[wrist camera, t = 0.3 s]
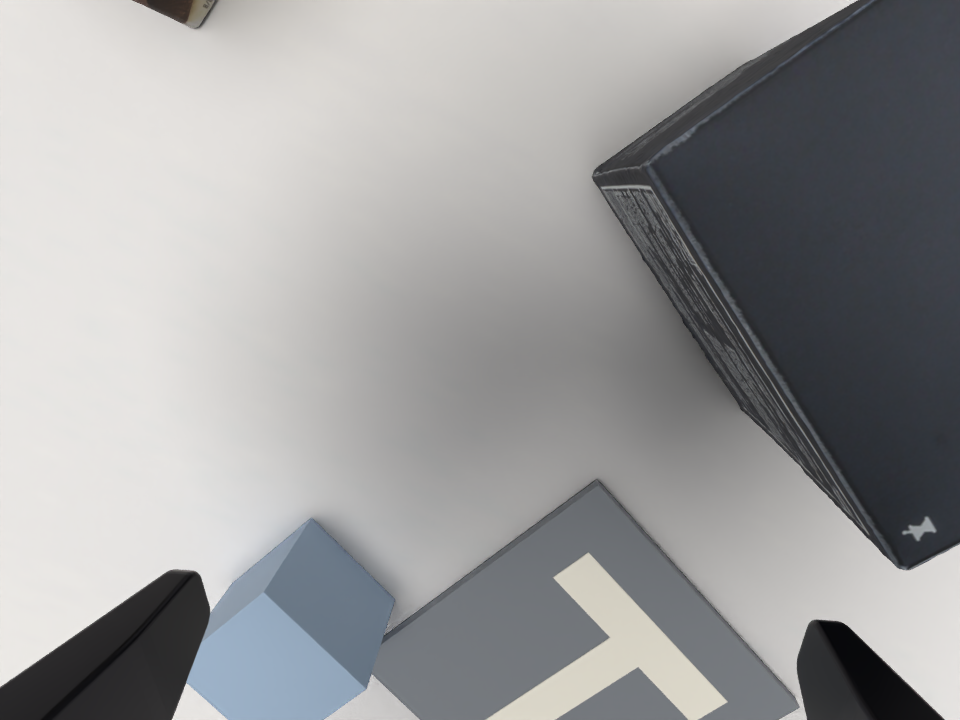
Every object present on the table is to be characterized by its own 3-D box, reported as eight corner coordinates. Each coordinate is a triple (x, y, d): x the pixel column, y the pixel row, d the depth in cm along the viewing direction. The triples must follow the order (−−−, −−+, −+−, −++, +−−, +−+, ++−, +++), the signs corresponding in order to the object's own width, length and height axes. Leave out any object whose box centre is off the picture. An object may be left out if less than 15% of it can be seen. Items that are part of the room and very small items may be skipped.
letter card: (554, 837, 30) (555, 848, 29) (361, 652, 28) (358, 661, 27) (794, 697, 27) (800, 708, 26) (596, 479, 25) (598, 485, 24)
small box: (911, 317, 22) (1223, 432, 12) (742, 415, 24) (897, 592, 14) (757, 48, 20) (977, -76, 10) (584, 173, 22) (628, 171, 12)
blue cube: (314, 659, 28) (270, 757, 24) (232, 582, 28) (170, 668, 23) (395, 598, 27) (366, 689, 22) (312, 516, 26) (263, 592, 22)
